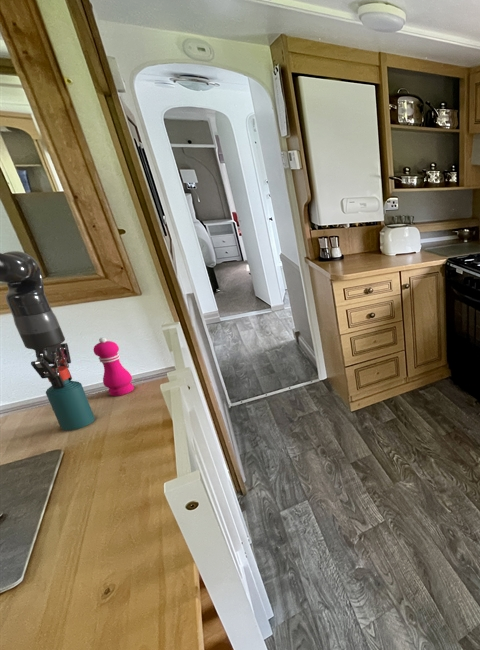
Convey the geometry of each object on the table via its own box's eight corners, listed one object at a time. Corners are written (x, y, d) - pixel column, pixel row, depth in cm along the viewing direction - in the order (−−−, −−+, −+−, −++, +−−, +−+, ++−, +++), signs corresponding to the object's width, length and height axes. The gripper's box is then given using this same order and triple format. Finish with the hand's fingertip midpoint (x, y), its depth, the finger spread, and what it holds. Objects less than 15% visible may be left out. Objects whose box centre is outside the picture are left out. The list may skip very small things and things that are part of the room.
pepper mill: (118, 386, 132) (98, 333, 124) (140, 385, 132) (122, 333, 125) (102, 397, 125) (80, 342, 117) (125, 396, 126) (105, 341, 118)
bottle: (55, 432, 107) (32, 380, 101) (68, 419, 113) (47, 368, 107) (88, 427, 110) (67, 376, 103) (99, 414, 116) (80, 365, 110)
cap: (46, 383, 103) (41, 374, 102) (53, 376, 107) (49, 367, 106) (66, 380, 105) (63, 371, 104) (73, 374, 109) (69, 365, 108)
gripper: (44, 335, 96) (69, 393, 102) (70, 318, 108) (91, 371, 114) (3, 339, 93) (31, 399, 99) (34, 321, 105) (57, 375, 111)
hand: (63, 384), depth 107 cm, fingers closed on cap, 4 cm apart
